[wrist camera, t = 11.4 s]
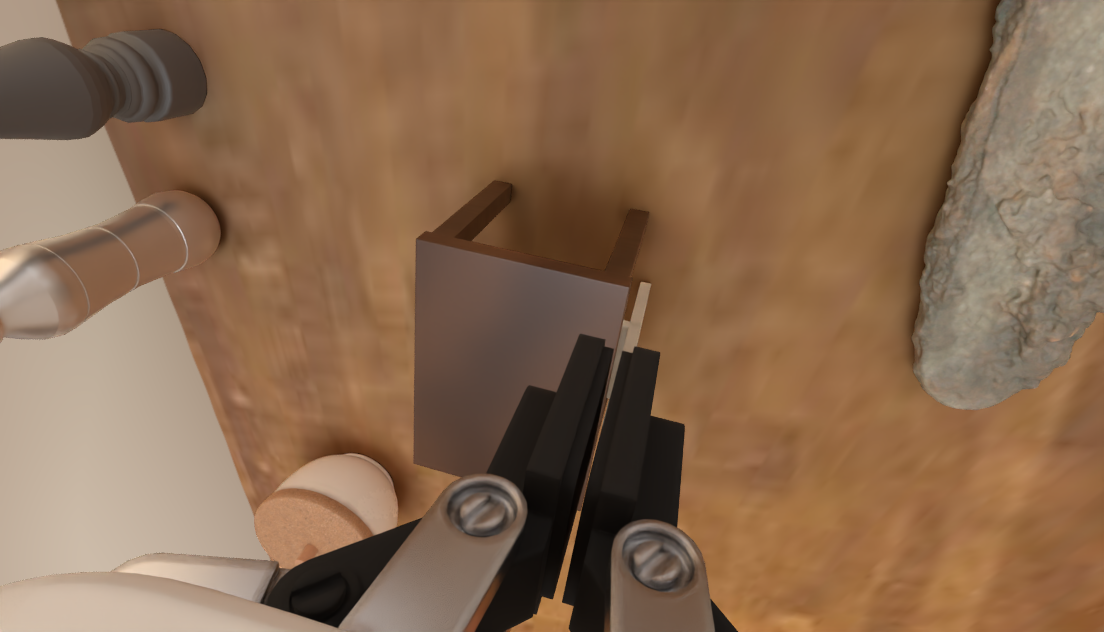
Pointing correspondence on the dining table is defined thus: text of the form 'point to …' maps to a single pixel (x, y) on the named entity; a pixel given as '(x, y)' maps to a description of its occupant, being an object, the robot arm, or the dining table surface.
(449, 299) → the toy table
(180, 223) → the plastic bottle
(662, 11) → the dining table surface
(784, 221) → the dining table surface
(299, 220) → the dining table surface
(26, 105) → the candle holder
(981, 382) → the long grey stone
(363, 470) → the lidded bowl
